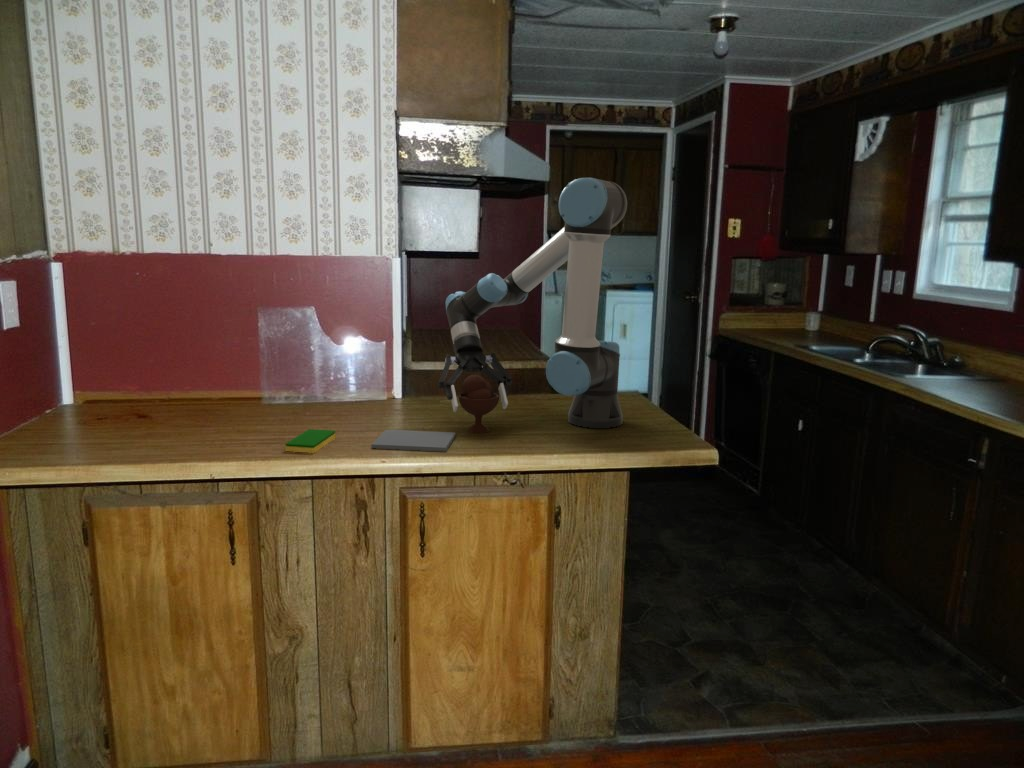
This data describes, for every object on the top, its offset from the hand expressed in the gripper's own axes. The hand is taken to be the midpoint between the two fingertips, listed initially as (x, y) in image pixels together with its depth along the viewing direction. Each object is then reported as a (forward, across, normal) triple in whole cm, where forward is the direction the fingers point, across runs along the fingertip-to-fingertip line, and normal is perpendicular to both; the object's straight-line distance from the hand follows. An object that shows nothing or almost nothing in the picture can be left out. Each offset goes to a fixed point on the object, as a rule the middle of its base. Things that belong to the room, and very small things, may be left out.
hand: (481, 407), depth 193 cm
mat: (+8, +18, -1) cm, 20 cm away
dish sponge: (+6, +43, -4) cm, 43 cm away
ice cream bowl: (+3, 0, -6) cm, 7 cm away
